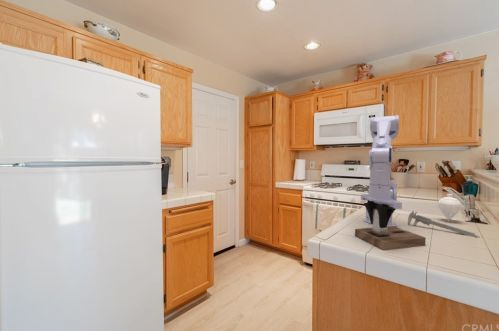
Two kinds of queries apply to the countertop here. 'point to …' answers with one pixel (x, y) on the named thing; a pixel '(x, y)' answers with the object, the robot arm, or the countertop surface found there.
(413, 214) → the caliper
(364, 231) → the socket block
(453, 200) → the spinning top
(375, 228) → the peg
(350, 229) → the countertop surface
